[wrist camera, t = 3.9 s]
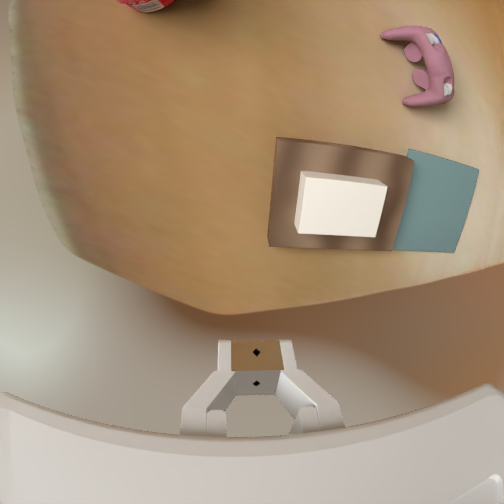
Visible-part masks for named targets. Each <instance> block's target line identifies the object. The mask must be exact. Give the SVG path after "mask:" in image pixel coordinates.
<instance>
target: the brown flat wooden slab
mask: <svg viewBox="0 0 504 504" xmlns="http://www.w3.org/2000/svg"><path fill="white" fill-rule="evenodd" d="M413 166H414V160H412V159H410V158H408V157H406V156H403V155H398V154H393V153H388V152H383V151H378V150H373V149H367V148H361V147H355V146H349V145H343V144H336V143H328V142H321V141H312V140H303V139H293V138H282V137H276V145H275V157H274V169H273V181H272V192H271V203H270V214H269V225H268V235H267V237H268V242H269V247H298V248H326V249H354V250H379V251H392V248H393V244H394V241H395V238H396V234H397V231H398V228H399V224H400V220H401V217H402V213H403V209H404V205H405V202H406V197H407V193H408V189H409V185H410V180H411V176H412V171H413ZM301 171H309V172H319V173H329V174H338V175H346V176H354V177H362V178H369V179H376V180H379V181H381V182H382V183H383V184H385V185H386V186H387V192H386V196H385V201H384V205H383V209H382V213H381V217H380V221H379V225H378V229H377V233H376V236H375V237H359V236H341V235H321V234H299V233H298V232H297V229H296V227H295V224H294V221H295V214H296V206H297V199H298V191H299V182H300V174H301Z"/></svg>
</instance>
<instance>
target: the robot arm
mask: <svg viewBox="0 0 504 504" xmlns="http://www.w3.org/2000/svg"><path fill="white" fill-rule="evenodd" d="M238 395H275V397H276V398H277V399H278V400H279V401H280V403H281V404H282V405H283V406H284V407H285V409H286V410H287V411H288V412H289V413H290V415H291V416H292V417H293V418H294V419H295V421H294V424H293V426H292V428H291V430H290V432H289V435H280V436H264V437H227V436H226V413H225V411H226V409H227V408H228V406H229V405H230V403H231V402H232V400H233V399H234V397H235V396H238ZM0 504H504V392H503V391H501V390H500V389H498V388H497V387H495V386H493V385H491V384H489V383H486V384H483V385H480V386H478V387H476V388H474V389H471V390H469V391H467V392H464V393H462V394H460V395H457V396H455V397H452V398H449V399H447V400H444V401H441V402H439V403H436V404H433V405H430V406H427V407H424V408H421V409H418V410H415V411H411V412H408V413H404V414H401V415H397V416H394V417H390V418H386V419H382V420H378V421H374V422H369V423H364V424H360V425H355V426H350V427H345V425H344V421H343V418H342V414H341V411H340V407H339V404H338V402H337V401H336V400H335V399H334V398H333V397H331V396H330V395H329V394H328V393H327V392H326V391H325V390H323V389H322V388H321V387H320V386H319V385H318V384H317V383H316V382H315V381H313V380H312V379H311V378H310V377H309V376H308V375H307V374H305V372H304V371H302V370H298V368H297V363H296V359H295V354H294V350H293V345H292V342H291V340H256V341H243V340H219V343H218V371H214V372H213V373H212V374H211V375H210V376H209V378H208V379H207V380H206V381H205V382H204V383H203V385H202V386H201V387H200V388H199V389H198V390H197V391H196V393H195V394H194V395H193V396H192V397H191V398H190V399H189V401H188V402H187V403H186V404H185V405H184V406H183V409H182V418H181V428H180V435H175V434H166V433H157V432H149V431H142V430H136V429H130V428H124V427H118V426H114V425H109V424H104V423H100V422H95V421H91V420H87V419H83V418H79V417H76V416H72V415H69V414H65V413H62V412H58V411H55V410H52V409H49V408H46V407H43V406H40V405H38V404H35V403H32V402H29V401H27V400H24V399H21V398H19V397H17V396H14V395H12V394H9V393H7V392H0Z"/></svg>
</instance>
